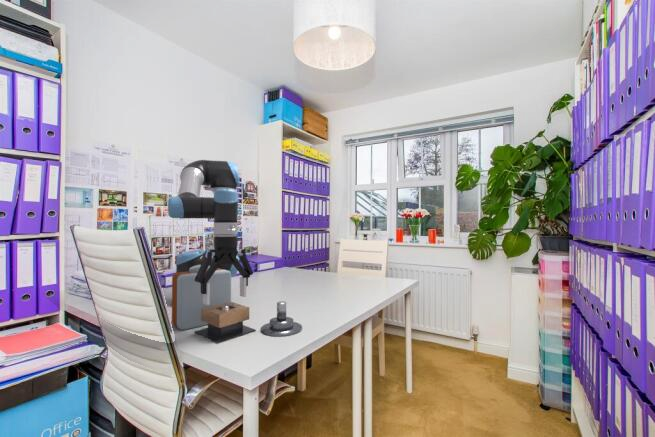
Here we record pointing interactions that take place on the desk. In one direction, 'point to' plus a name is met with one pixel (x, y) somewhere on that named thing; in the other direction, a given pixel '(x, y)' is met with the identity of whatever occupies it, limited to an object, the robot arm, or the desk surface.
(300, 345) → the desk surface
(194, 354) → the desk surface
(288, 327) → the hub
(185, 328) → the grey rounded upright slab
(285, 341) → the desk surface
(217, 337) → the stand
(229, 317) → the brown square ring block
